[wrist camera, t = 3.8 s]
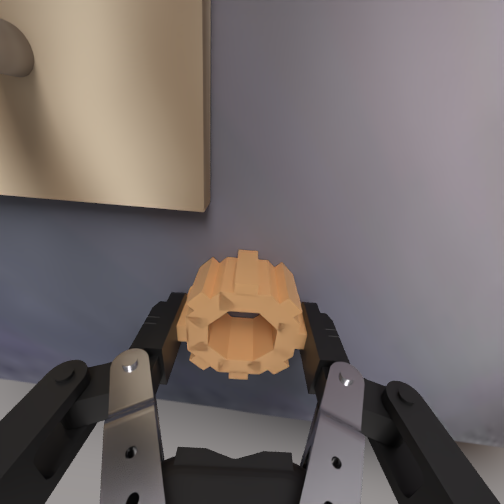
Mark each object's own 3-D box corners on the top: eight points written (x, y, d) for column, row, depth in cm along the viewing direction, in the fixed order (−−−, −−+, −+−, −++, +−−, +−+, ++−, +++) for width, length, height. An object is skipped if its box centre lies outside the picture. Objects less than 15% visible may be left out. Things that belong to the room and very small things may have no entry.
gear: (307, 254, 12) (321, 289, 10) (288, 338, 15) (295, 382, 13) (188, 245, 12) (170, 278, 9) (192, 331, 15) (179, 375, 12)
